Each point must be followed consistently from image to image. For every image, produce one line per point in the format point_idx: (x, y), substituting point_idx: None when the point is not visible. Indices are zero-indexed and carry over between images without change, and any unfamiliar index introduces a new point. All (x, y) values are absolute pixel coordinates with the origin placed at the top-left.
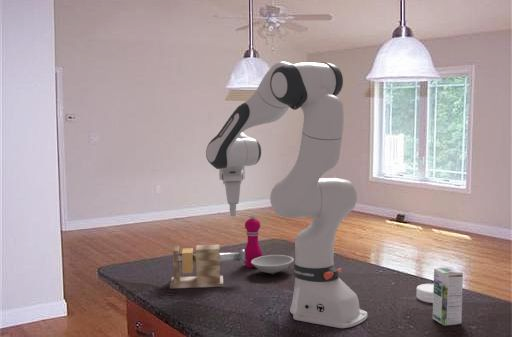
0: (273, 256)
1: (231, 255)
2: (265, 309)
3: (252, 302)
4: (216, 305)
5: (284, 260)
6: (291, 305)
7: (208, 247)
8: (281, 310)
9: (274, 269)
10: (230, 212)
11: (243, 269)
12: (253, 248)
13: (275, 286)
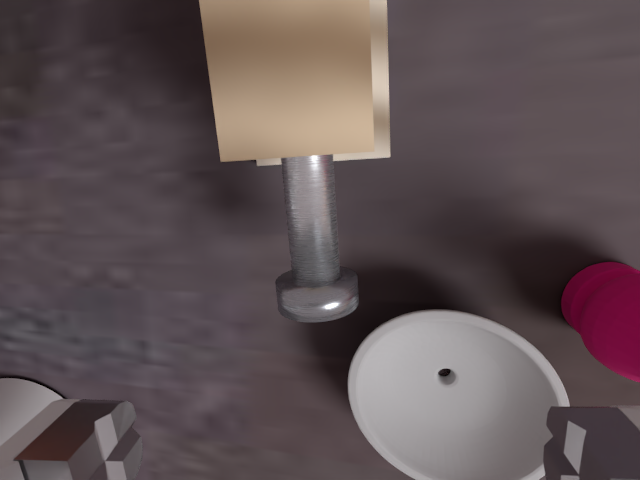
0: None
1: (290, 230)
2: (24, 311)
3: (81, 275)
4: (34, 150)
5: (512, 451)
6: (2, 392)
7: (275, 66)
8: (23, 355)
9: (369, 393)
10: (11, 437)
11: (536, 252)
12: (626, 350)
13: (262, 362)
